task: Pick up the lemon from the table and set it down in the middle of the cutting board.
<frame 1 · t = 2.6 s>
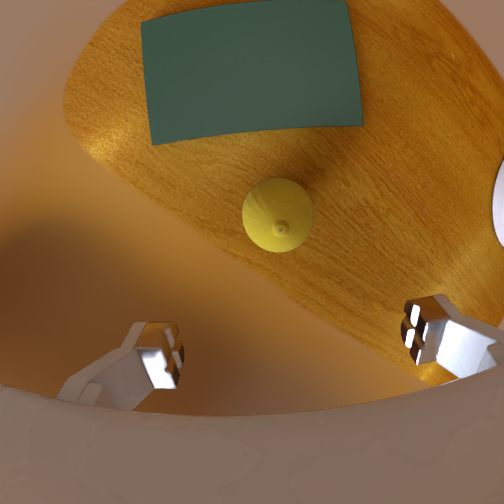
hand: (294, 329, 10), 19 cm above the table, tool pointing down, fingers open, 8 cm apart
lemon: (275, 201, 27), on the table
cutting board: (250, 65, 23), on the table
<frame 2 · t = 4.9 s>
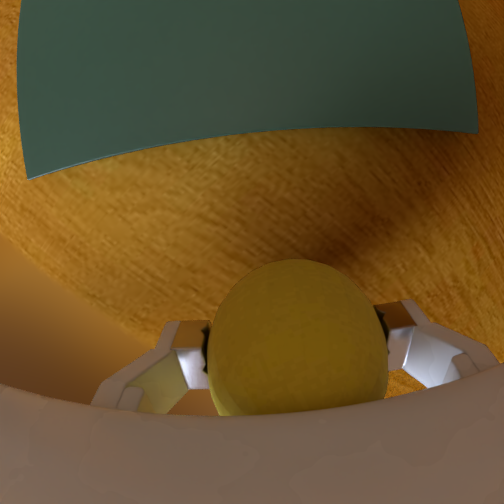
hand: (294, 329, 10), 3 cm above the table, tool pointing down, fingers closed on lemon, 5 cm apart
lemon: (286, 287, 13), on the table, touching gripper
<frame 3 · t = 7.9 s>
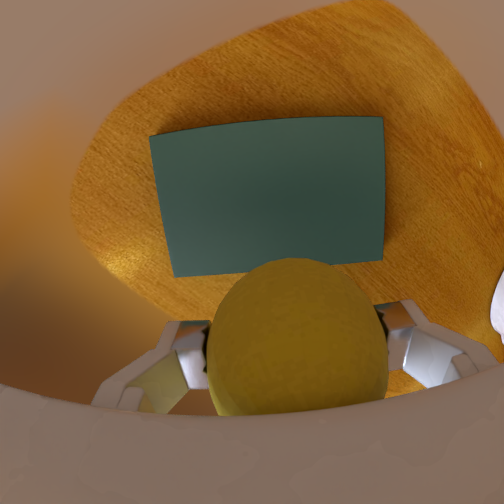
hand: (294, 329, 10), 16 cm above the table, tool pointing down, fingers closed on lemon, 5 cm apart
lemon: (286, 286, 13), point 13 cm above the table, touching gripper
cutting board: (273, 194, 24), on the table
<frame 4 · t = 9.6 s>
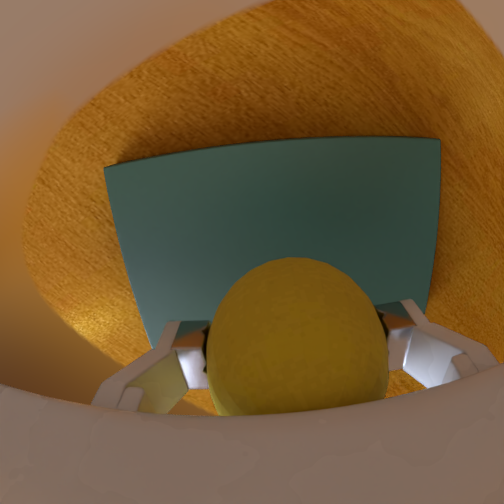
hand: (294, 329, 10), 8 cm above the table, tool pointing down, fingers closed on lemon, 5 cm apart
lemon: (286, 286, 13), point 5 cm above the table, touching gripper
cutting board: (283, 247, 17), on the table
when the fingers open (4 cm above the table, at t = 11.0 s): lemon stays where it is, resting on cutting board.
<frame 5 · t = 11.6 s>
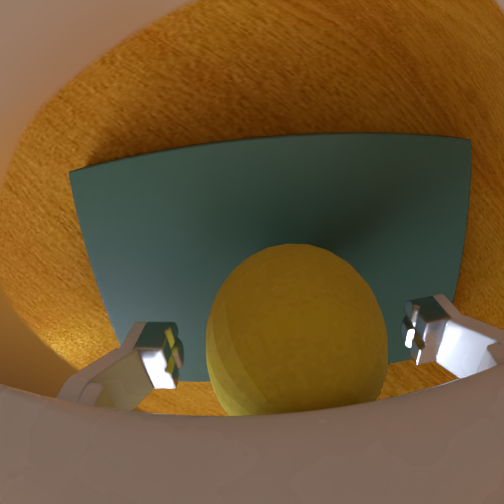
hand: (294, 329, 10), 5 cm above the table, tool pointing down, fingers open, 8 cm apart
lemon: (285, 275, 13), point 1 cm above the table, touching cutting board
cutting board: (283, 266, 14), on the table
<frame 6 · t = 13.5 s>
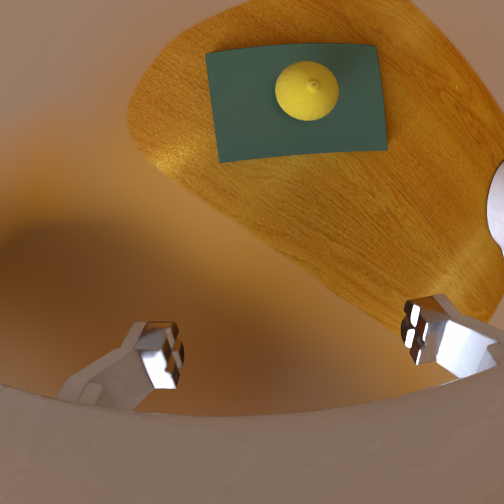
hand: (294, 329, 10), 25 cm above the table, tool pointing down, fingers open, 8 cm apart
lemon: (300, 95, 28), point 1 cm above the table, touching cutting board
cutting board: (299, 98, 29), on the table
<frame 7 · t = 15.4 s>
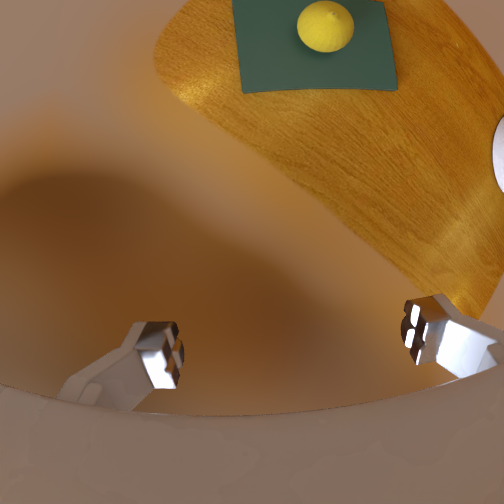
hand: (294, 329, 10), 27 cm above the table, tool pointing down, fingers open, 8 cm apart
lemon: (317, 37, 27), point 1 cm above the table, touching cutting board
cutting board: (316, 42, 28), on the table
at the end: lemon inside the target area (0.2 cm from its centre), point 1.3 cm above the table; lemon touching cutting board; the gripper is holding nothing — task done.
